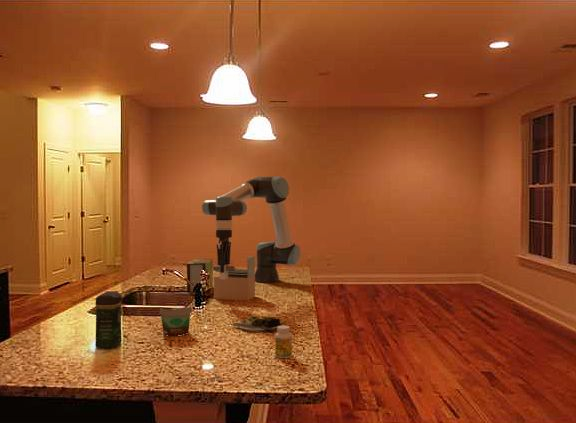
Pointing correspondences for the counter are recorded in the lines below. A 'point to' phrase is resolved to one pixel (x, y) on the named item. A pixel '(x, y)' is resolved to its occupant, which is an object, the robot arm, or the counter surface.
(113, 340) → the coffee jar
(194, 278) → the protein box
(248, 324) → the salad plate
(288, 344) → the supplement bottle
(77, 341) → the counter surface
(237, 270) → the flap
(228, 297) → the carton
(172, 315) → the food container
